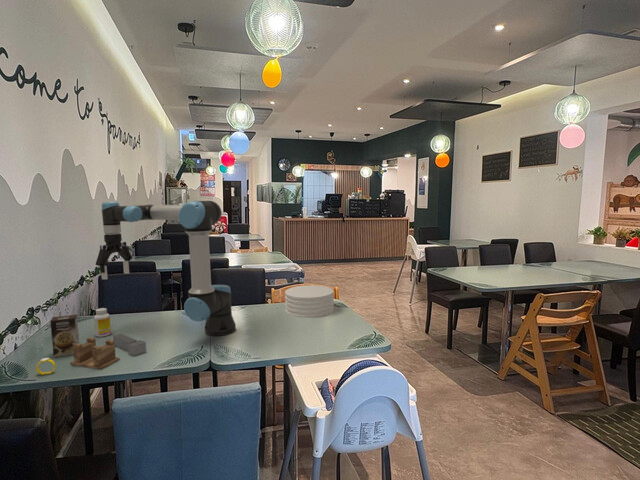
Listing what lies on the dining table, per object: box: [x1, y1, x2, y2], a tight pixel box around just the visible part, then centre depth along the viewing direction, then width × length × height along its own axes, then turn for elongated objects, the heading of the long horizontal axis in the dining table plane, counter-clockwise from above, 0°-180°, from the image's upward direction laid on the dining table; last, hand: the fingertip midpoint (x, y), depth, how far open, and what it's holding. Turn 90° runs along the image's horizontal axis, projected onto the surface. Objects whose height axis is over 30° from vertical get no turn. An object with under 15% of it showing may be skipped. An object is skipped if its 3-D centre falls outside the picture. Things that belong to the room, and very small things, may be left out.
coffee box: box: [49, 314, 80, 358], centre depth 168 cm, size 9×6×16 cm
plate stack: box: [284, 284, 335, 319], centre depth 225 cm, size 28×28×12 cm
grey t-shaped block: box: [112, 332, 147, 357], centre depth 172 cm, size 20×6×4 cm, turn 53°
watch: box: [35, 357, 57, 376], centre depth 149 cm, size 6×3×6 cm, turn 108°
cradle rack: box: [70, 336, 121, 370], centre depth 159 cm, size 16×9×8 cm, turn 73°
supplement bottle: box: [93, 307, 112, 338], centre depth 190 cm, size 7×7×13 cm
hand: (116, 276), depth 192 cm, fingers open, 13 cm apart
